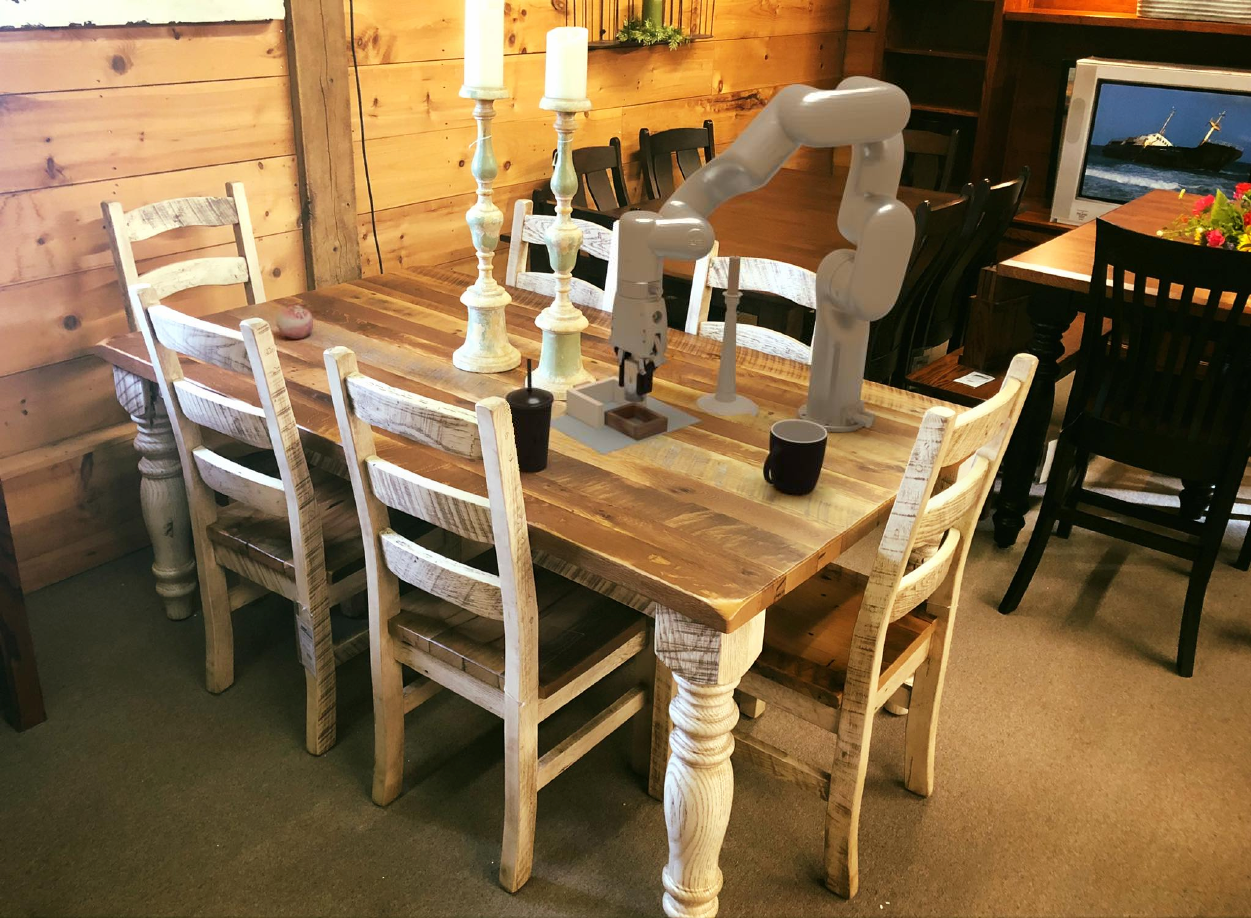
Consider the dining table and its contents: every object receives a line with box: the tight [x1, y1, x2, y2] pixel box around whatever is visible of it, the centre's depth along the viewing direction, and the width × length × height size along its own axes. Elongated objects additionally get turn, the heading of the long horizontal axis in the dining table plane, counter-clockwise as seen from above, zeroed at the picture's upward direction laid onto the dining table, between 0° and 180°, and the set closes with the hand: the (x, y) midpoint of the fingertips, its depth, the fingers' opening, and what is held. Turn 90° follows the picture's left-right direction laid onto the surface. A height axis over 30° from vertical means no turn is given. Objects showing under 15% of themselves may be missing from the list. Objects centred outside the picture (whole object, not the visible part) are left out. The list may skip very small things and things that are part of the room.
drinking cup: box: [505, 358, 555, 474], centre depth 169 cm, size 8×8×20 cm
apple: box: [276, 304, 314, 341], centre depth 229 cm, size 8×8×7 cm
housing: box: [565, 375, 648, 429], centre depth 193 cm, size 12×11×4 cm
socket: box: [604, 402, 668, 441], centre depth 187 cm, size 9×7×2 cm
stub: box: [623, 355, 649, 402], centre depth 183 cm, size 4×4×7 cm
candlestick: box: [696, 253, 760, 418], centre depth 192 cm, size 13×13×30 cm
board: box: [550, 395, 702, 455], centre depth 190 cm, size 17×23×2 cm
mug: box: [762, 418, 828, 497], centre depth 168 cm, size 12×9×10 cm
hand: (635, 388), depth 184 cm, fingers closed on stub, 4 cm apart
